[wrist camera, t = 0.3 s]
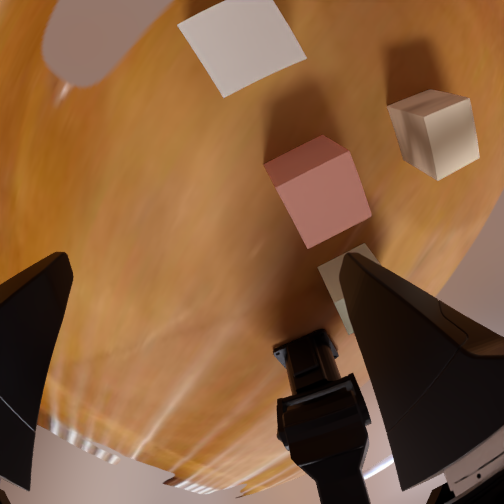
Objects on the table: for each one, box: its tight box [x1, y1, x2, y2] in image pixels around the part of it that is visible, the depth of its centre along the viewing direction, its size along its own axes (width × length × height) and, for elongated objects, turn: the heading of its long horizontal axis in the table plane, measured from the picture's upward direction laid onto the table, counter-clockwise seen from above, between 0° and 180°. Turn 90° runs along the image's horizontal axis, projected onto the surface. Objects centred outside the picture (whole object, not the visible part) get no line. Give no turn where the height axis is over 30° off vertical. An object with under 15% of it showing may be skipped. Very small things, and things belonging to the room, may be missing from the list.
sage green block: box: [317, 243, 381, 335], centre depth 26 cm, size 5×5×5 cm
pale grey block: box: [177, 0, 307, 98], centre depth 14 cm, size 5×5×5 cm
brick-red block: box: [263, 135, 372, 249], centre depth 20 cm, size 5×5×5 cm
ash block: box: [387, 89, 480, 181], centre depth 18 cm, size 5×5×5 cm
